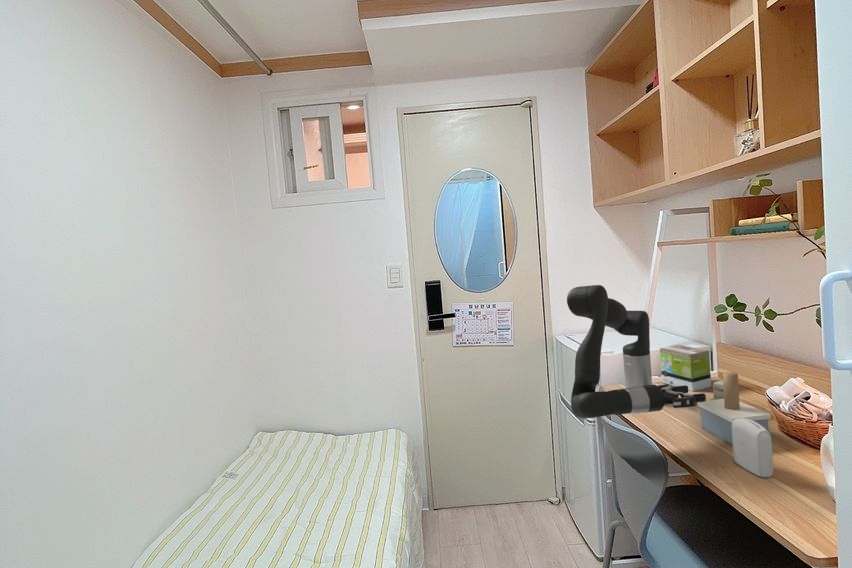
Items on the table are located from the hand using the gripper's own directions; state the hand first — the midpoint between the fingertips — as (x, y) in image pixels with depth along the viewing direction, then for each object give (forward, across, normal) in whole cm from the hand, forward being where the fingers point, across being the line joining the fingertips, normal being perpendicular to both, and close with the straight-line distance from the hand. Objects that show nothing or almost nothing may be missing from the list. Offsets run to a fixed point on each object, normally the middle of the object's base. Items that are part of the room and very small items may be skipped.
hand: (696, 392), depth 144 cm
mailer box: (+11, 0, +14) cm, 17 cm away
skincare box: (+20, +18, +14) cm, 30 cm away
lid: (+11, 0, +7) cm, 13 cm away
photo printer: (+1, -20, +14) cm, 25 cm away
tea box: (+26, +50, +14) cm, 58 cm away
